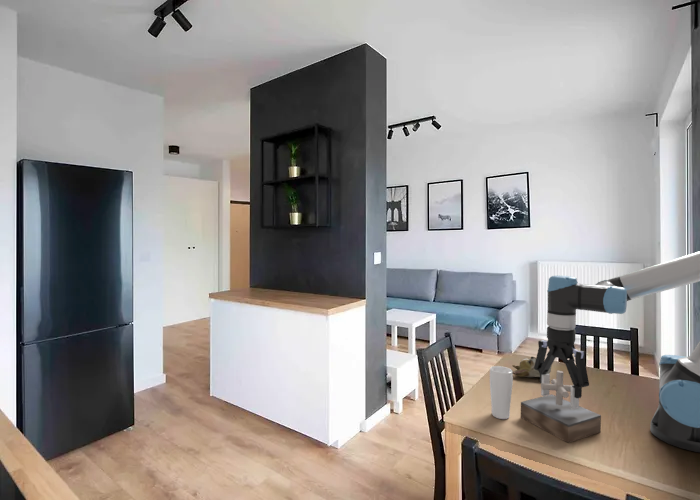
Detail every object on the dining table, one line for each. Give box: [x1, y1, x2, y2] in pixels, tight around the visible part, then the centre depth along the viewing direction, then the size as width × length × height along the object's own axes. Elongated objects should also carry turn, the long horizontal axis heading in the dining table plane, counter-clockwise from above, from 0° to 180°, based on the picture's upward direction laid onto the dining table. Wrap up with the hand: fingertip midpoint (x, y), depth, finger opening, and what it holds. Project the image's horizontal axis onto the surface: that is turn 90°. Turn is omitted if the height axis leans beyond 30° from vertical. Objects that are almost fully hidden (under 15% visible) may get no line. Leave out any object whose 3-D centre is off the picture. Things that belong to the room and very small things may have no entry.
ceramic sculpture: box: [512, 356, 553, 378], centre depth 154 cm, size 11×9×15 cm
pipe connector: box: [540, 370, 573, 406], centre depth 114 cm, size 10×10×10 cm
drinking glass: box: [489, 365, 514, 420], centre depth 120 cm, size 7×7×15 cm
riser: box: [520, 394, 602, 443], centre depth 115 cm, size 16×14×5 cm
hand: (559, 401), depth 114 cm, fingers closed on pipe connector, 9 cm apart
